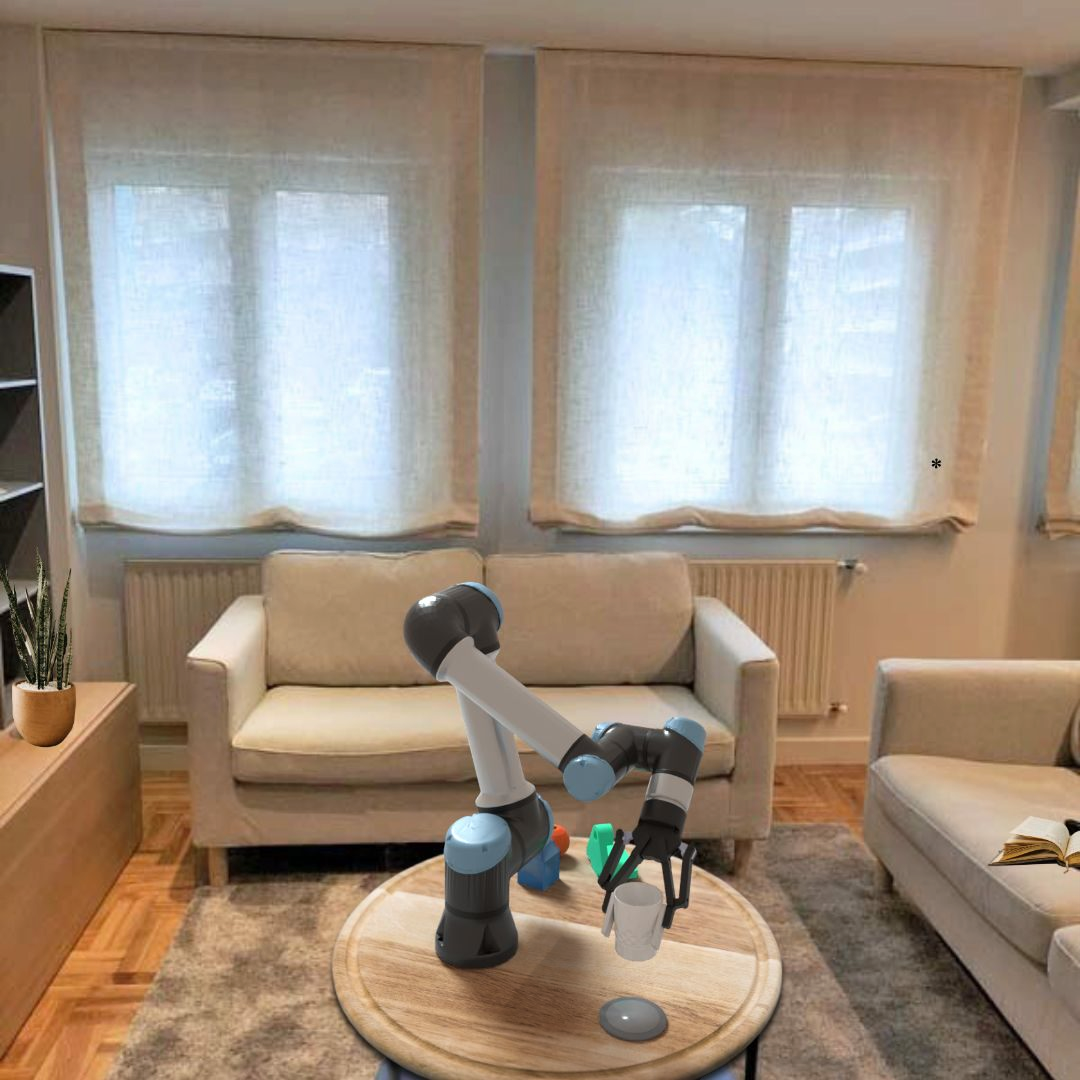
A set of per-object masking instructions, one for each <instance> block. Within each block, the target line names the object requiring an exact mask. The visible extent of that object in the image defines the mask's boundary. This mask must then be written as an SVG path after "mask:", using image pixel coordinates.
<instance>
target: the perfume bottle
mask: <svg viewBox="0 0 1080 1080" xmlns="http://www.w3.org/2000/svg"><path fill="white" fill-rule="evenodd" d="M560 859H561V856H560V850H559V849H558V847H557V846H556V844H555V843H554V841H553V840H551V839H550V841H549V843H548V844H547V845H546V846H545V848H544V849H543V851H542V852H541V853H540V854H539V855H538V856H536V857H535V858H533V859H532V860H530V861H529V862H528V863H527V864H526V865H525V866H524V867H523V868H522V869H520V870H519V871H518V872H517V873H516V874H517V875H516V877H517V879H516V880H517V881H516V883H517V884H520V885H523V886H526V887H529V888H532V889H534V890H538V891H540V892H545V891H546V890H547V889H548V888H549V887H551V886H552V885H554V884H555V883H556V882H557V881H559V880H560V870H561V868H560V867H561V861H560Z"/></svg>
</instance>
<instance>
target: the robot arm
mask: <svg viewBox="0 0 1080 1080" xmlns="http://www.w3.org/2000/svg"><path fill="white" fill-rule="evenodd" d="M503 624H504V609H503V605H502V603H501V601H500V600H499V597H498V596H497V595H496V593H494V591H492V590H491V589H490V588H489V587H487V586H485V585H483V584H481V583H478V582H475V581H474V582H473V581H467V582H462V583H456V584H455V585H450V586H448V587H446V588H444V589H442V590H439V591H436V592H435V593H432V594H429V595H426V596H424V597H422V598H419V599H418V600H417V601H415V602H414V603H413V604H412V605H411V606H410V607H409V609H408V610H407V612H406V614H405V617H404V619H403V625H402V634H403V638H404V644H405V645H406V649H408V652H409V653H410V654H411V657H413V659H414V660H415V661H416V663H417V664H418V665H419V666H420V667H421V668H422V669H423V670H424V671H425V672H426V673H427V674H429V675H430V676H431V677H433V678H434V679H435V680H437V681H438V682H440V683H442V682H448V683H450V685H452V686H453V687H454V688H455V692H456V697H457V701H458V705H459V708H460V713H461V716H462V717H461V718H462V721H463V724H464V725H463V726H464V728H465V731H466V732H465V733H466V737H467V741H468V745H469V748H470V749H469V750H470V752H471V757H472V761H473V766H474V769H475V774H476V778H477V781H478V785H479V789H480V793H479V795H478V796H477V798H476V799H475V806H476V807H475V808H476V811H477V813H473V814H472V815H471V816H470V815H465V816H463V817H461V818H459V819H457V820H456V821H455V822H454V823H452V824H451V826H450V827H448V829H447V832H446V834H445V839H444V840H445V843H444V848H443V856H444V908H443V911H442V913H441V917H440V920H439V923H438V924H437V928H436V931H435V935H434V950H435V952H436V954H437V957H439V958H440V959H441V960H442V961H444V962H445V963H447V964H449V965H451V966H454V967H457V968H460V969H467V970H468V969H469V970H484V969H490V968H495V967H497V966H501V965H503V964H505V963H507V962H508V961H510V960H511V959H512V958H514V956H516V954H517V952H518V949H519V931H518V929H517V926H516V923H515V920H514V916H513V914H512V910H511V908H510V881H511V879H512V878H513V876H514V875H516V874H517V872H518V871H519V870H520V869H522V868H523V867H524V866H525V865H526V864H527V863H528V862H529V861H530V860H532V859H533V858H535V857H536V856H538V855H539V854H540V853H541V852H542V851H543V849H544V848H545V846H546V845H547V844H548V843H549V841H550V839H551V837H552V835H553V831H554V824H555V819H554V815H553V814H554V813H553V811H552V809H551V806H550V804H549V803H548V802H547V800H544V799H543V797H542V795H540V794H538V793H537V791H536V786H535V785H534V784H533V783H531V782H529V781H528V780H526V778H525V775H524V771H523V768H522V763H521V759H520V755H519V751H518V748H517V742H516V738H515V736H516V737H517V738H518V739H519V740H520V741H521V742H523V743H525V744H526V746H528V747H530V748H531V749H532V750H533V751H534V752H536V753H537V754H538V755H539V756H541V757H542V758H543V759H545V760H546V761H547V762H548V763H550V764H551V766H552V765H553V766H554V767H555V768H556V769H557V770H559V772H561V773H562V774H563V775H562V781H563V785H564V786H565V788H566V789H567V792H568V793H569V795H570V796H571V797H572V798H574V799H575V800H577V801H580V802H586V803H589V802H590V803H591V802H594V801H597V800H598V799H599V798H602V797H603V796H605V795H607V794H608V793H609V792H611V791H612V789H613V788H614V786H616V784H618V783H619V782H620V781H621V780H623V779H624V778H625V777H626V776H627V775H628V774H629V773H631V771H633V770H636V771H642V772H643V771H644V772H648V773H651V775H650V779H649V782H648V786H647V789H646V793H645V796H644V798H645V801H643V803H642V806H641V810H640V814H639V817H638V821H637V825H636V826H635V828H634V829H632V831H623V829H622V828H617V829H616V831H615V836H614V838H615V839H614V842H613V847H612V850H611V852H610V854H609V856H608V858H607V861H606V863H605V865H604V867H603V869H602V872H601V874H600V876H599V877H597V878H598V879H597V881H596V882H597V884H598V886H599V887H600V888H601V889H602V890H603V891H605V895H604V898H603V901H602V905H601V912H602V913H603V914H604V915H605V916H604V918H603V919H604V920H603V923H602V925H601V930H600V932H601V934H602V935H603V937H605V938H610V936H611V932H612V929H613V925H614V890H615V889H616V888H617V887H618V886H619V885H622V884H624V883H627V881H628V880H629V879H628V878H629V877H630V876H631V874H632V873H633V872H634V870H635V869H636V868H638V866H639V865H641V864H642V863H643V861H644V860H646V861H654V862H656V863H658V864H659V863H660V866H661V870H662V878H663V886H664V892H665V900H666V901H665V903H666V904H664V903H663V904H662V905H661V908H660V911H659V914H658V918H657V922H656V926H655V930H654V934H653V937H652V941H651V945H652V947H653V948H654V949H655V950H657V951H660V947H661V943H662V939H663V936H664V932H665V929H666V930H670V929H671V928H672V924H673V921H674V917H675V912H676V911H677V910H679V909H684V910H685V909H688V907H689V906H690V904H689V903H690V895H691V893H690V892H691V883H692V873H693V871H692V870H693V863H694V861H695V859H696V857H697V855H698V852H697V850H696V847H695V845H694V844H691V843H690V844H687V843H685V842H683V839H682V835H683V831H684V828H685V825H686V819H687V815H688V814H687V813H686V812H688V811H689V808H690V805H691V801H692V800H691V799H692V797H693V792H694V789H695V784H696V780H697V777H698V773H699V769H700V766H701V763H702V759H703V756H704V751H705V745H706V740H707V731H706V730H705V728H704V726H702V724H700V723H699V722H698V721H696V720H693V719H691V718H688V717H683V716H676V717H673V716H672V717H670V718H668V719H667V720H666V721H665V724H664V725H663V727H662V728H658V727H657V728H651V727H646V726H639V725H632V724H626V723H622V722H619V721H618V722H611V721H610V722H606V721H602V722H600V723H598V724H596V726H595V728H594V731H593V732H592V733H591V737H590V736H589V735H587V734H586V733H584V732H583V730H581V729H580V728H579V727H577V726H576V725H575V724H573V723H572V722H571V721H570V720H568V719H567V718H566V717H564V716H563V715H561V714H560V713H559V712H558V711H557V710H555V709H554V708H553V707H552V706H550V705H549V704H548V703H547V702H546V701H544V700H542V698H540V697H539V696H538V695H536V694H535V693H534V692H532V691H531V690H530V689H528V688H527V687H526V686H525V685H524V684H522V683H521V682H520V681H518V680H517V679H516V678H515V677H513V676H512V675H511V674H510V673H508V671H506V670H505V669H504V668H502V667H500V666H499V665H498V664H497V662H496V661H497V660H496V658H497V656H498V654H499V653H500V651H501V643H500V639H499V635H498V633H499V632H500V630H501V627H502V625H503ZM632 840H633V842H634V847H633V849H632V850H631V851H630V854H629V858H628V859H627V860H626V861H625V863H624V864H623V865H622V867H621V868H620V869H619V871H618V872H617V873H616V875H615V876H614V877H613V874H614V872H615V870H616V868H617V865H618V863H619V861H620V859H621V857H622V854H623V852H624V850H626V846H628V845H629V843H630V841H632ZM679 851H680V855H681V856H682V859H681V861H682V862H681V868H680V869H681V870H680V879H679V880H680V881H679V891H678V897H677V898H676V891H675V884H674V883H675V882H674V877H673V871H672V868H673V866H672V860H671V858H672V857H674V855H675V854H676V853H678V852H679ZM612 877H613V879H612ZM611 879H612V880H611Z"/></svg>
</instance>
